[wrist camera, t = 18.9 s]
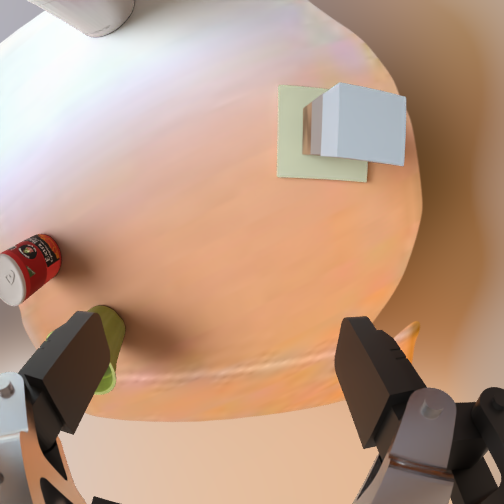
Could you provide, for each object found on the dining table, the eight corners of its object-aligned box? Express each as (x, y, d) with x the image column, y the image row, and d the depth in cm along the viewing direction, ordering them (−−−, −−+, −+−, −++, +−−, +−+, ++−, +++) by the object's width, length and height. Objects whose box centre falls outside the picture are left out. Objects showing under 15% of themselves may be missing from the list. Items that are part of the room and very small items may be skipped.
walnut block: (302, 108, 33) (311, 101, 28) (348, 113, 33) (362, 108, 28) (302, 154, 35) (310, 154, 30) (347, 157, 35) (361, 158, 30)
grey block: (311, 101, 28) (323, 92, 23) (362, 108, 28) (381, 102, 24) (310, 154, 30) (322, 154, 25) (361, 159, 30) (380, 161, 25)
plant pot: (66, 298, 42) (32, 333, 31) (121, 286, 41) (89, 325, 30) (95, 354, 45) (71, 395, 35) (149, 348, 45) (130, 394, 34)
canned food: (69, 250, 39) (28, 278, 29) (54, 285, 41) (18, 317, 31) (37, 222, 37) (-6, 243, 27) (25, 259, 39) (-14, 284, 29)
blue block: (322, 94, 23) (339, 82, 19) (380, 104, 24) (406, 97, 19) (320, 156, 25) (337, 156, 21) (378, 163, 26) (403, 166, 21)
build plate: (278, 86, 33) (279, 84, 32) (365, 96, 33) (368, 95, 32) (276, 176, 37) (277, 177, 36) (363, 181, 37) (366, 182, 36)
